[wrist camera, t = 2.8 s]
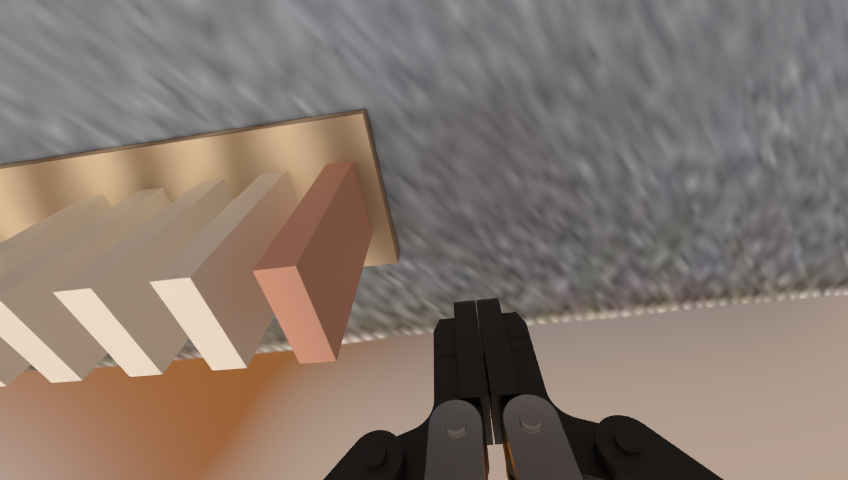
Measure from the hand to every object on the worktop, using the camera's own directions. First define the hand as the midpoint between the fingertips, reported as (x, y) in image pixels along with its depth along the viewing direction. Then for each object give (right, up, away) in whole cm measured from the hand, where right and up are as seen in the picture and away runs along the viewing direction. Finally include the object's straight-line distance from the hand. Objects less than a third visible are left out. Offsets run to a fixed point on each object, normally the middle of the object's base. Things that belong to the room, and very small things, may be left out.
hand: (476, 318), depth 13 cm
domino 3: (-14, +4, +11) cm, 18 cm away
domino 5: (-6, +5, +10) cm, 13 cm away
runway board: (-18, +4, +12) cm, 22 cm away
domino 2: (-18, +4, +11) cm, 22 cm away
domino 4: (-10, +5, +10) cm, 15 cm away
